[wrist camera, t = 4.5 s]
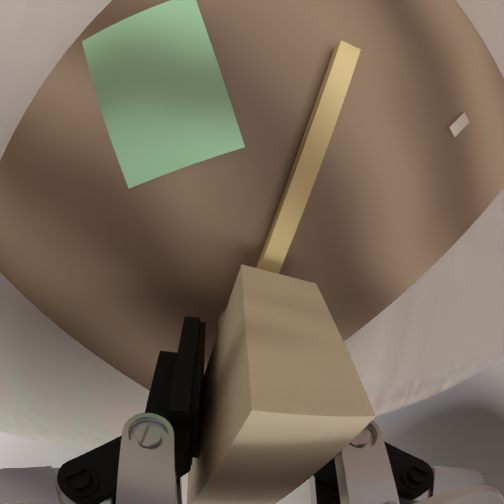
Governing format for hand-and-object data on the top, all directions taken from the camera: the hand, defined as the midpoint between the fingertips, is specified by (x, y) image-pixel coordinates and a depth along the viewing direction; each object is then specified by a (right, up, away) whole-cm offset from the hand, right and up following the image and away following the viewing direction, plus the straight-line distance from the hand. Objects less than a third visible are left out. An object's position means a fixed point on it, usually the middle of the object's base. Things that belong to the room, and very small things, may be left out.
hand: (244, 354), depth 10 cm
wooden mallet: (+1, +4, 0) cm, 4 cm away
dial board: (+1, +7, +1) cm, 7 cm away
